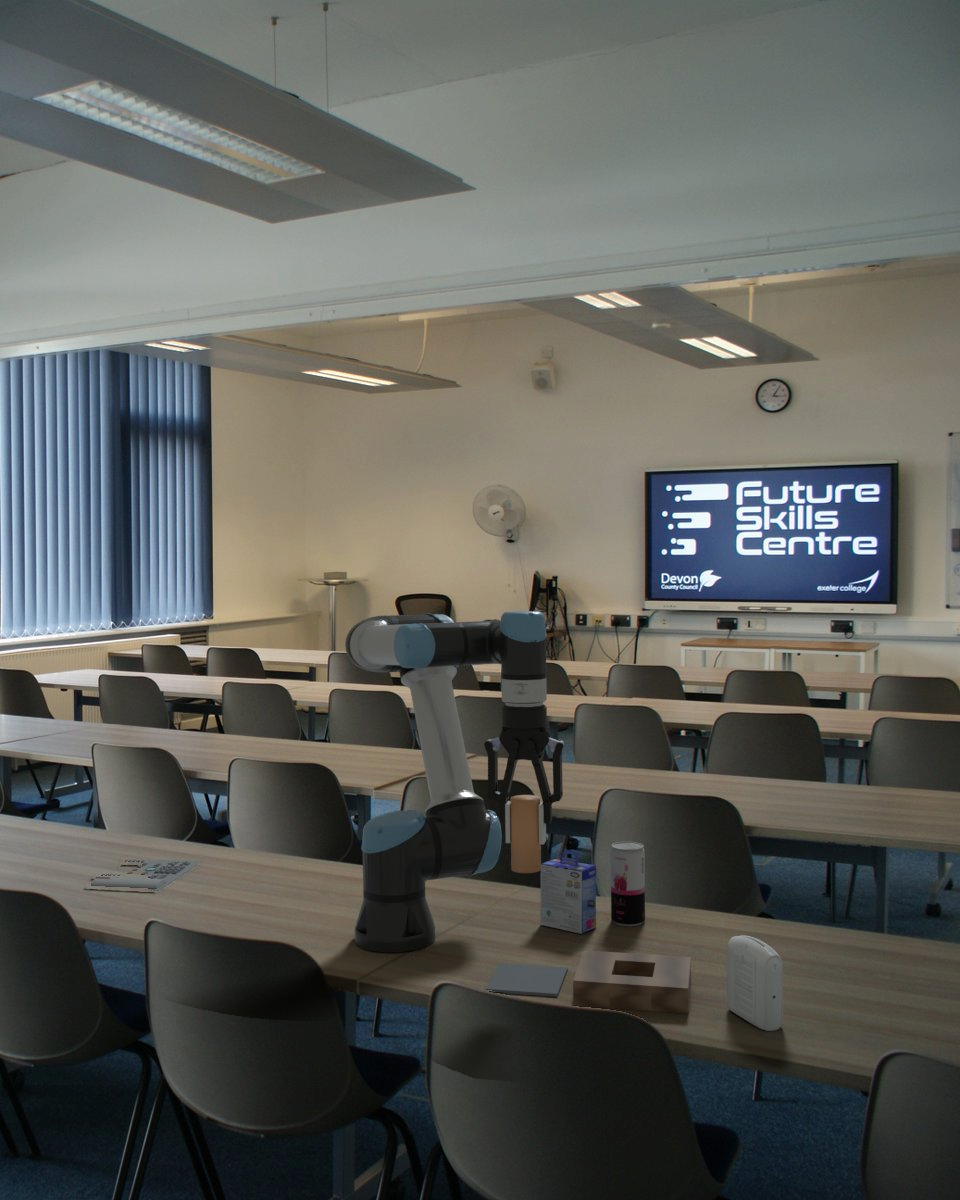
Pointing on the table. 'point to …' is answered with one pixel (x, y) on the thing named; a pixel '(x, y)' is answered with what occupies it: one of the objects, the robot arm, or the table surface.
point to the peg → (525, 834)
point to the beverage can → (627, 883)
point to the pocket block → (633, 981)
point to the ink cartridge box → (568, 894)
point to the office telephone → (150, 874)
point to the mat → (527, 979)
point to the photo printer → (755, 982)
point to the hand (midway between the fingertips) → (525, 841)
